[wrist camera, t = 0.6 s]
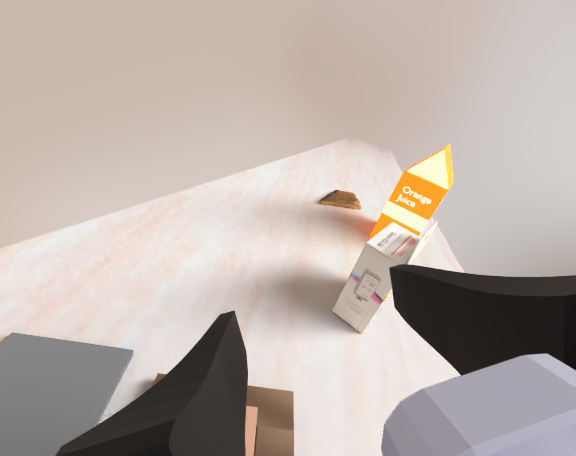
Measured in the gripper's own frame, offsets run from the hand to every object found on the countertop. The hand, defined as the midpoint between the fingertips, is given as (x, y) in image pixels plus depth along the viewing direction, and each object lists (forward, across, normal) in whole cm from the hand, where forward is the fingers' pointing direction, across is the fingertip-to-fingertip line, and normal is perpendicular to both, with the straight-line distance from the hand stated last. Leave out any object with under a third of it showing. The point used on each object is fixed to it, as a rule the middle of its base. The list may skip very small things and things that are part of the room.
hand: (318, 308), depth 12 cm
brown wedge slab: (+50, -19, +6) cm, 54 cm away
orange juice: (+40, -24, +13) cm, 48 cm away
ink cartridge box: (+22, -9, +15) cm, 28 cm away
